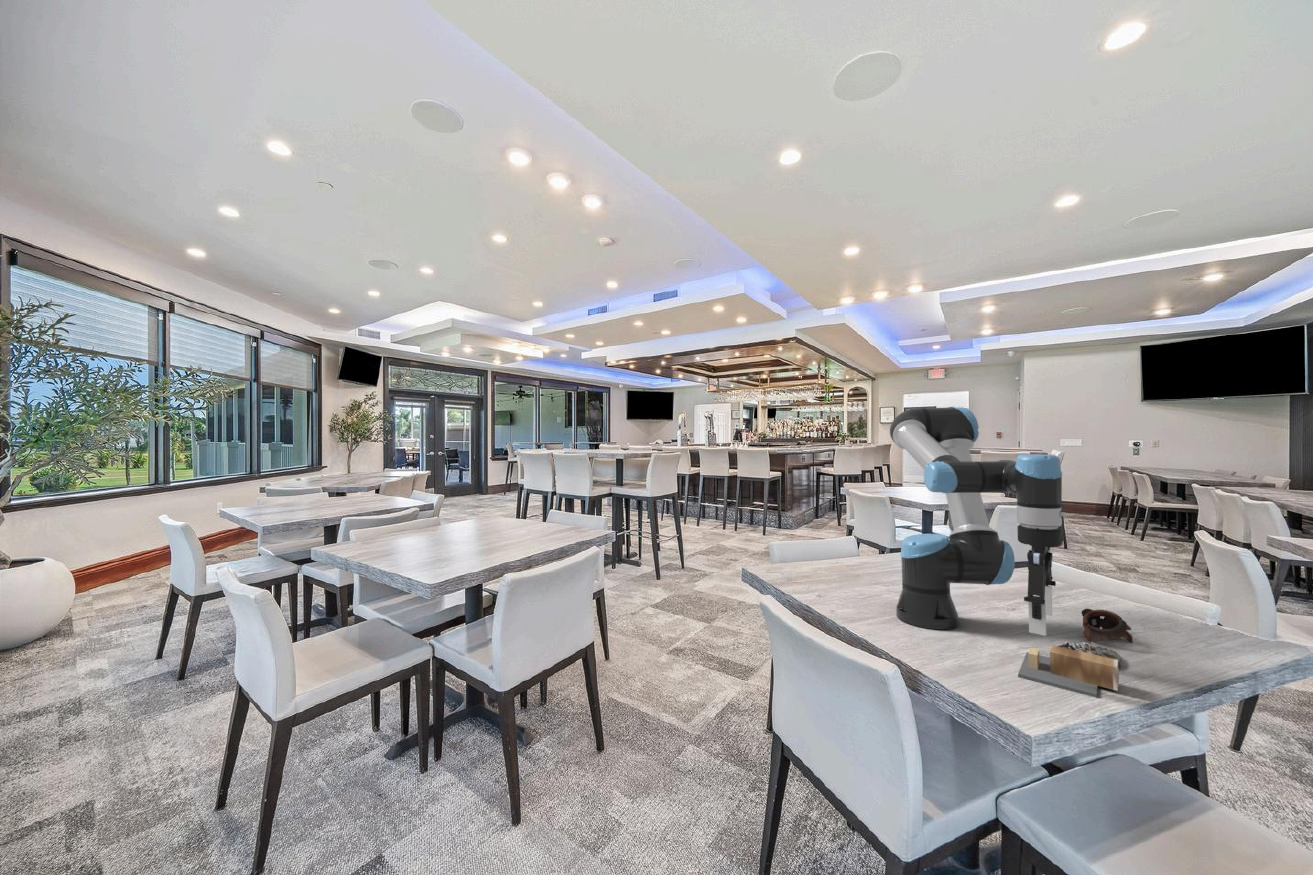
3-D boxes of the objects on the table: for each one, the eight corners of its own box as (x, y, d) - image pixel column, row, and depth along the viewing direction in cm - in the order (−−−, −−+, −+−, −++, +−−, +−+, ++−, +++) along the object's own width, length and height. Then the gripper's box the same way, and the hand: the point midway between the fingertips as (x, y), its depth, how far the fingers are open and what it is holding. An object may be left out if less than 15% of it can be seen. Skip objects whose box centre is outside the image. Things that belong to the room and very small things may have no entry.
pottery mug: (1149, 650, 110) (1139, 623, 108) (1109, 665, 111) (1099, 639, 109) (1102, 618, 122) (1093, 594, 120) (1066, 633, 123) (1057, 609, 121)
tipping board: (1018, 676, 97) (1017, 659, 97) (1026, 654, 107) (1026, 638, 107) (1096, 697, 89) (1096, 678, 89) (1098, 671, 99) (1097, 654, 99)
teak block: (1049, 651, 97) (1116, 667, 90) (1052, 645, 101) (1117, 659, 93) (1050, 673, 97) (1117, 690, 90) (1053, 666, 100) (1118, 682, 93)
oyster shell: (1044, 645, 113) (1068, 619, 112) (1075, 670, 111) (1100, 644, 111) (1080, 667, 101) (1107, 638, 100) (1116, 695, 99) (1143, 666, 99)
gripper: (1057, 538, 89) (1059, 648, 89) (1066, 519, 107) (1068, 611, 107) (1008, 533, 94) (1010, 637, 94) (1024, 515, 112) (1026, 603, 112)
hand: (1041, 623), depth 101 cm, fingers open, 13 cm apart
